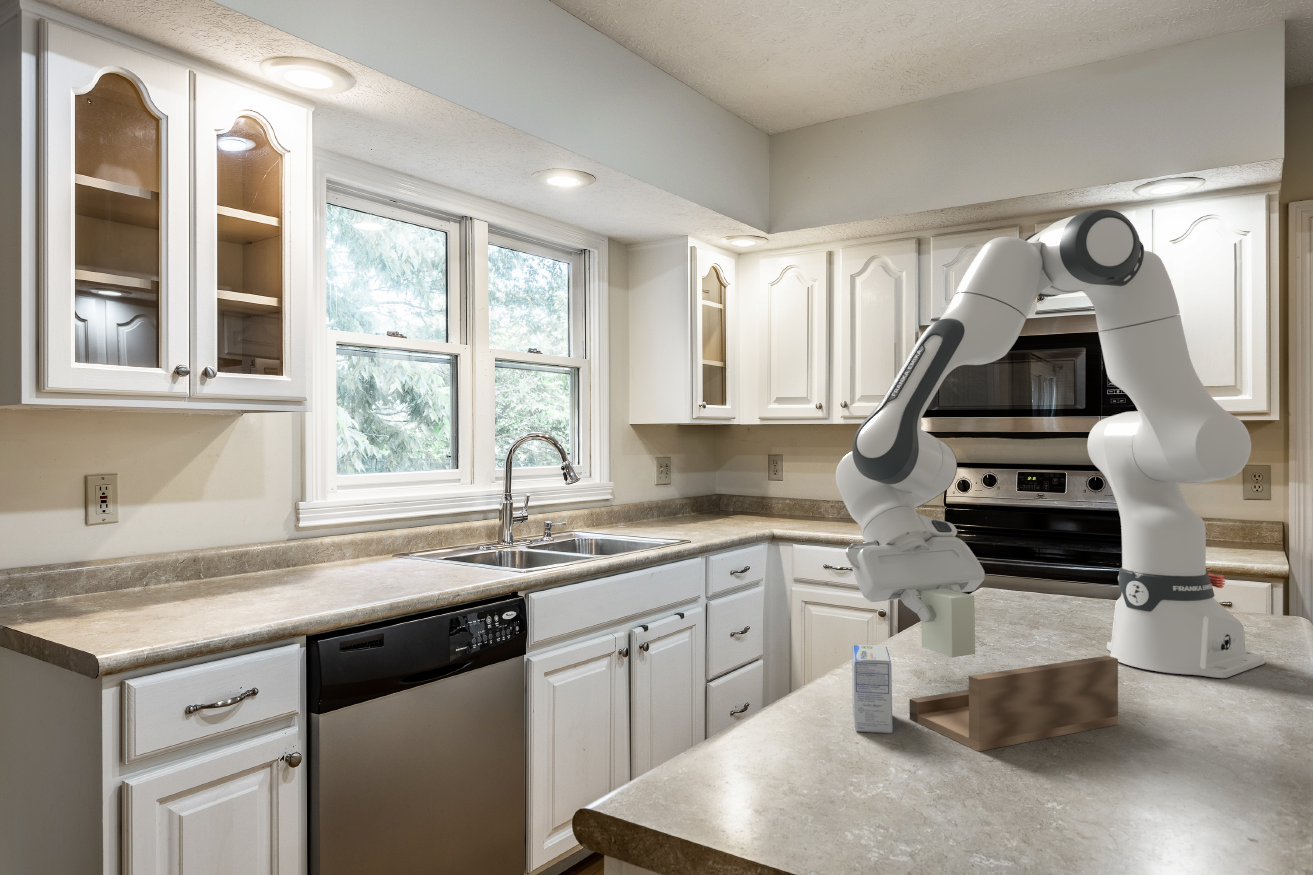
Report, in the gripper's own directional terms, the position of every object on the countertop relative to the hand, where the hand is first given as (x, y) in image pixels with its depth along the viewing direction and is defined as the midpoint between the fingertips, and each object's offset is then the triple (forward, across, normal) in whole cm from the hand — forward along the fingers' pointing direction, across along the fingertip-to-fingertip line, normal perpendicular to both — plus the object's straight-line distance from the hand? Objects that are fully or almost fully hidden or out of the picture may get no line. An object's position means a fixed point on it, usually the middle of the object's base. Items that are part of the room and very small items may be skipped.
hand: (945, 618), depth 116 cm
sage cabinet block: (+3, 0, +3) cm, 4 cm away
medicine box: (+12, -18, +2) cm, 22 cm away
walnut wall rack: (+17, -2, -3) cm, 17 cm away
